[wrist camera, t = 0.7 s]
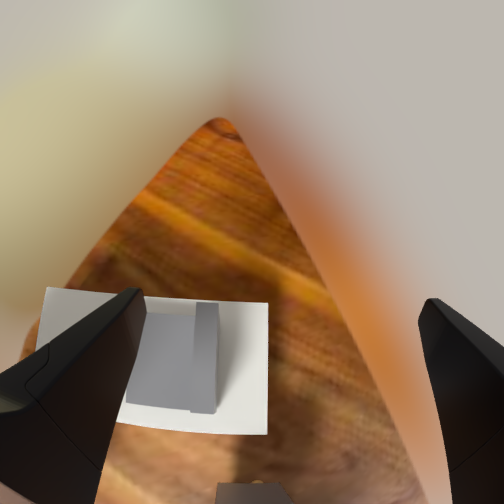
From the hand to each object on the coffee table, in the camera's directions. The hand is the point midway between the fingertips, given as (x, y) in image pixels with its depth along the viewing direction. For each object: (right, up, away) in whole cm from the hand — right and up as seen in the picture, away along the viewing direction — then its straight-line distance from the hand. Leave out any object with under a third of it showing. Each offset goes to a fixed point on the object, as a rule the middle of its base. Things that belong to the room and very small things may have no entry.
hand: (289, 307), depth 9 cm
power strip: (-9, -7, +13) cm, 18 cm away
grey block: (-6, -5, +10) cm, 13 cm away
